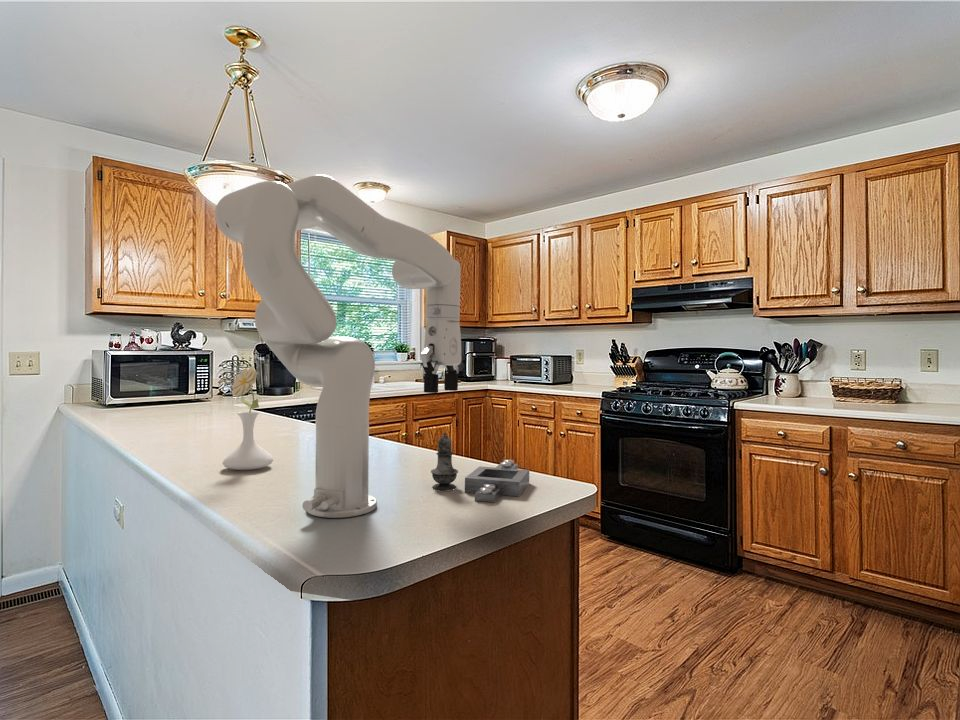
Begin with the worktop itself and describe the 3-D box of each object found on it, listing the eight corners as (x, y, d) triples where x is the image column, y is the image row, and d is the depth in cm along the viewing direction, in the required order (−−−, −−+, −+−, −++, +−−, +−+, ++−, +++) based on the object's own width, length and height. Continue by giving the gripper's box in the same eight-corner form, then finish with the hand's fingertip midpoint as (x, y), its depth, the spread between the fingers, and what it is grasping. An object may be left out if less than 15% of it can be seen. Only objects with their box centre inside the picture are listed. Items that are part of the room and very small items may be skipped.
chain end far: (519, 496, 108) (519, 478, 108) (464, 492, 111) (464, 474, 111) (533, 477, 125) (533, 461, 125) (485, 473, 128) (486, 458, 128)
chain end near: (513, 504, 102) (513, 492, 102) (456, 499, 106) (456, 487, 105) (529, 483, 119) (529, 473, 119) (479, 479, 122) (479, 469, 122)
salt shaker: (425, 487, 115) (425, 431, 115) (446, 482, 119) (447, 429, 119) (441, 492, 110) (442, 434, 110) (463, 488, 114) (464, 432, 114)
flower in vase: (219, 466, 133) (219, 365, 132) (268, 461, 139) (268, 365, 138) (226, 477, 122) (227, 367, 121) (279, 471, 128) (279, 367, 127)
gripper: (440, 311, 110) (438, 394, 110) (473, 317, 126) (472, 390, 126) (408, 311, 113) (406, 392, 113) (445, 317, 129) (443, 389, 129)
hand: (441, 391), depth 119 cm, fingers open, 9 cm apart
